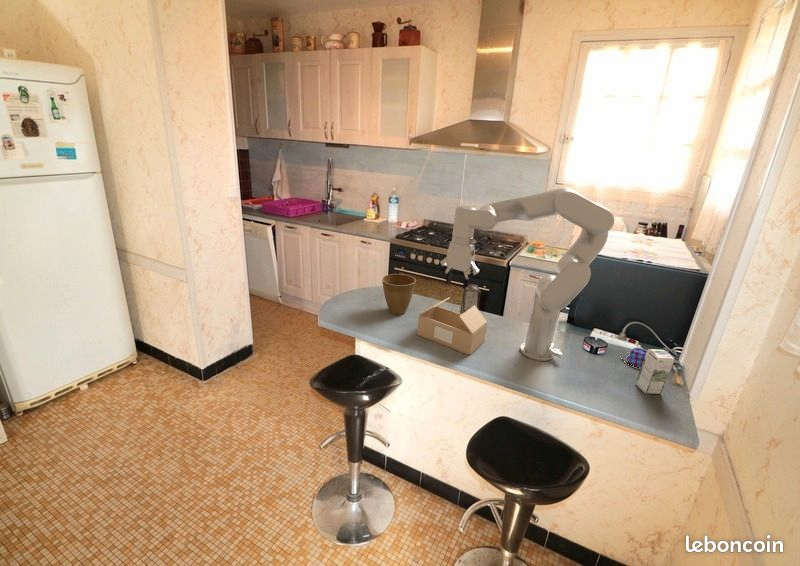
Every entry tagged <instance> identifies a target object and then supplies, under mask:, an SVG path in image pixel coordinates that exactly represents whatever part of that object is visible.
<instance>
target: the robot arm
mask: <svg viewBox="0 0 800 566" xmlns="http://www.w3.org/2000/svg"><path fill="white" fill-rule="evenodd" d="M557 215H559V216H560V217H562V218H563V219H565V220H566V221H568V222H570V223H572V224H574V225H576V226H578V227H580V228H581V232H580V234H579V236H578V238H577V239H576V240H575V242H574V243H573V244H571V246H570V248H568V250H567V251H566V252H565V253H564V254H563V255H562V256H561V257H560V258H559V260H558V261H557V263H556V270H557V273H558V274H557V275H553V274H546V275H544V276H541V278H539V279H538V281H537V282H536V285H535V289H534V295H533V296H534V298H533V303H532V309H531V313H530V318H529V324H528V328H527V333H526V337H525V342H523V343H521V344H520V345H519V346H520V347H519V351H520V352H521V354H522V355H524V356H525V357H527V358H530V359H531V360H535V361H540V362H542V361H543V362H544V361H545V362H547V361H550V360H552V359H553V358H554V357H556V358H559V359H562V356H563V353H562V352H561V350H560V349H559V348H558V349H557V348H555V347H554V346H555V343H553V341H554V337H555V332H556V330H557V329H556V328H557V323H558V320H559V316H560V311H562V310H563V309H565V308H566V307H568V305H569V304H570V303H572V301H573V300H574V299H575V298H576V297H577V296H578V295H579V294H580V292H582V290H583V289H584V288H586V286H587V285H588V284H589V281H590V279H591V275H592V271H591V267H590V265H591V263H592V262H593V261H594V260H595V259H596V258H597V256H598V255H599V254H600V252H602V250H603V248H604V247H605V245H606V243H607V241H608V236H609V231H611V229H612V228H613V227H614V224H615V217H614V214H613V213H612V212H611V210H609V208H606V207H605V206H604V205H602V204H601V203H598V202H594V201H592V200H590V199H588V198H587V197H585V196H583V195H581V194H580V193H578V192H577V191H576V190H574V189H572V188H570V187H560V188H559V187H558V188H556V189H552V190H548V191H544V192H539V193H535V194H531V195H527V196H522V197H521V196H520V197H517V198H512V199H511V198H510V199H505V200H501V201H497V202H496V201H495V202H492V203H489V204H485V205H482V206H481V207H480V208H479V209H477V208H475V207H473V206H470V205H458V206H456V208H455V211H454V219H453V228H452V229H453V230H452V238H451V241H450V242H449V245H448V247H447V248H448V249H447V253H446V257H444V258H443V259H442V260H440V264H441V267H442V268H443V270H444V271H445V272H444V273H445V284H450V283H452V279H453V272H452V270H456V271H460V272H463V274H464V279H463V282H462V290H463V289H465V288H467V287H468V286H469V284H470V281H471V278H472V277H474V276H475V275H476V274H478V273H479V272H480V269H478V267H477V266H476V264H475V261H476V259H475V258H476V251H475V248H476V247H475V244H476V243H477V240H476V239H474V234H475V229H476V230H478V231H479V230H480V231H485V232H490V231H491V230H493V229H495V228H496V226H497V224H498V223H501V222H506V221H513V220H515V221H516V220H518V221H523V222H524V221H525V222H531V221H536V220H540V219H543V218H548V217H553V216H557ZM472 270H473V271H472ZM471 271H472V272H471Z"/></svg>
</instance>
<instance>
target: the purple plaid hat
mask: <svg viewBox="0 0 800 566" xmlns="http://www.w3.org/2000/svg"><path fill="white" fill-rule="evenodd" d="M629 353H630V354H629V355H628V356H627V357H626V358H627V360H629V362H630V363H632V364H634V365H635V366H637V367H639V368H637V367H634V365H633V366H632V367H633V368H636V369H639V370H640V369H641V367H642V364H643V361H644V358H645V355H646V353H647V350H646V349H645V348H641V347H633V348H632V349H631V350H630V352H629ZM620 359H621V360H622V358H621V357H620ZM627 360H626V361H627ZM623 362H624V363H626V362H625V361H623ZM626 364H627V363H626ZM632 364H631V365H632Z"/></svg>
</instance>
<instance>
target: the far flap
mask: <svg viewBox="0 0 800 566" xmlns="http://www.w3.org/2000/svg"><path fill="white" fill-rule="evenodd" d="M450 298H451V297H447V298H445V299H443V300H442V301H439V302H437V303H435V304H434V305H432V306H431V307H429V308H427V309H425V310H423V311H421V312H420V313H419V314H418V316H419V315H420V314H422V313H424V312H426V311H428V310H430V309H432V308H434V307H436V306H440V305H441V304H442V303H444V302H446V301H447V300H449V299H450Z"/></svg>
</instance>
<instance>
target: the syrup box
mask: <svg viewBox="0 0 800 566" xmlns="http://www.w3.org/2000/svg"><path fill="white" fill-rule="evenodd" d="M646 351H647V353H646V355H645V358H644V361H643V364H642V367H640V368H641V369H639V373H638V375H637V378H636V381H635V385H636V386H637V387H638V388H639V389H640V390H641V391H642V392H643V393H644V394H646V395H661V394H662V393H663V391H664V390H663V389H664V388H665V385H666V383H667V379H668V377H669V375H670V372H671V370H672V367H673V364H674V361H675V358H674V356H672V354H670V353H669V352H667V351H666V350H664V349H655V348H654V349H653V348H648V349H647V350H646Z"/></svg>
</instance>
